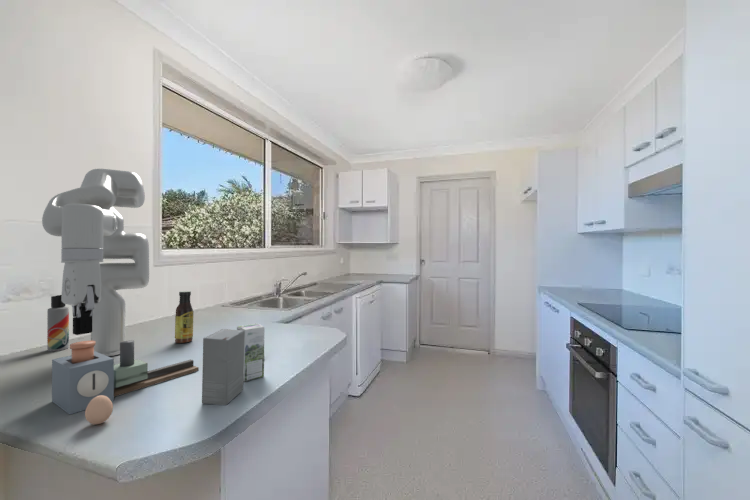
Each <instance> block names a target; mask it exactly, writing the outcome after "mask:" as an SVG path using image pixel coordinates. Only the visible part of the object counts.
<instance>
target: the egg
mask: <svg viewBox="0 0 750 500" xmlns="http://www.w3.org/2000/svg"><path fill="white" fill-rule="evenodd" d="M113 404H114V403H113V401H111V400H110V399H109V398H108V397H107V396H104V395H99V396H97V397H95V398H93V399H92V400H91V401H90V402H89V404H88V406H87V408H86V410H84V411H85V412H84V417H85V419H86V421H87V422H88V423H90V424H91V425H100V424H103V423H104V422H106V421H107V420H108V419H109V418H110V417H111V415H112V414H113V410H114V405H113Z"/></svg>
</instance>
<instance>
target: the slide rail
mask: <svg viewBox="0 0 750 500" xmlns="http://www.w3.org/2000/svg"><path fill="white" fill-rule="evenodd" d="M194 363H195V361H194V360H193V359H188V360H184V361H179V362H177V363H176V362H175V363H173V364H169V365H166V366H162V367H159V368H155V369H151V370H148V379H144V380H141V381H137V382H134V383H131V384H127V385H124V386H120V387H117V388H116V387H114V397H117V396H120V395H124V394H128V393H130V392H134V391H137V390H140V389H144V388H146V387H149V386H153V385H157V384H160V383H162V382H166V381H169V380H173V379H176V378H179V377H182V376H183V377H184V376H186V375H189V374H192V373H196V372H198V371H199V366H196V365H194Z"/></svg>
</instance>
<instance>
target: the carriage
mask: <svg viewBox="0 0 750 500" xmlns="http://www.w3.org/2000/svg"><path fill="white" fill-rule="evenodd" d="M148 367H149V366H148V362H145V361H143V360H140V359H138V358H137V359H135V340H133V339H131V340H125V341H123V342H120V354H119V363H116V364H114V387H116V388H117V387H120V386H124V385H127V384H131V383H134V382H137V381H141V380H144V379H148V371H149V370H148Z"/></svg>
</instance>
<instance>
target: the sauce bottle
mask: <svg viewBox="0 0 750 500" xmlns="http://www.w3.org/2000/svg"><path fill="white" fill-rule="evenodd" d="M178 296H179V301H178V303H179V304H178V305H177V307H176V308H175V316H174V317H175V318H174V321H175V323H174V342H175V344H185V343H190V342H192V341H193V338H194V309H193V305H192V303H191V296H192V291H190V290H185V291H184V290H183V291H179V293H178Z"/></svg>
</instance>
